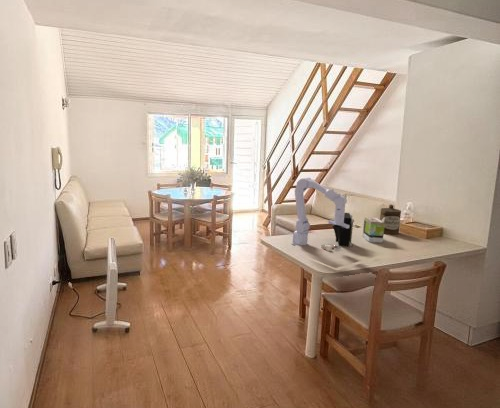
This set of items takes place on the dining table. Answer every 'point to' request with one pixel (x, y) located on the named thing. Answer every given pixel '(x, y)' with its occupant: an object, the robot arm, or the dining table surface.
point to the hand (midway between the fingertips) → (337, 237)
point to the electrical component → (346, 232)
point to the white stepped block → (328, 247)
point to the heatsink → (334, 247)
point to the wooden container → (391, 220)
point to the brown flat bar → (331, 245)
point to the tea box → (373, 229)
